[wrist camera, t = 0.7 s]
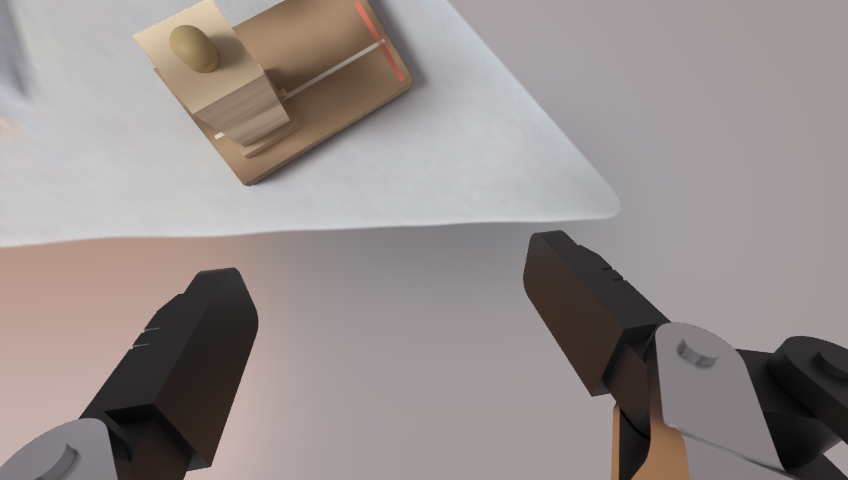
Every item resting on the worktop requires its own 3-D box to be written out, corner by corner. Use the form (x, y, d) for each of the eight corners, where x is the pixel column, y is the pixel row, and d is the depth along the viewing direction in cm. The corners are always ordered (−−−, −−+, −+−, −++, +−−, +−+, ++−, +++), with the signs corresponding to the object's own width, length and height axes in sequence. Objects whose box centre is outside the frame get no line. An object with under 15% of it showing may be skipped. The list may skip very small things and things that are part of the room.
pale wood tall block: (204, 102, 24) (94, 15, 13) (267, 67, 25) (212, -42, 14) (247, 158, 25) (178, 121, 14) (306, 123, 26) (283, 63, 15)
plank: (167, 79, 25) (153, 68, 23) (347, -16, 28) (347, -33, 26) (250, 186, 27) (243, 184, 26) (409, 88, 30) (414, 80, 28)
